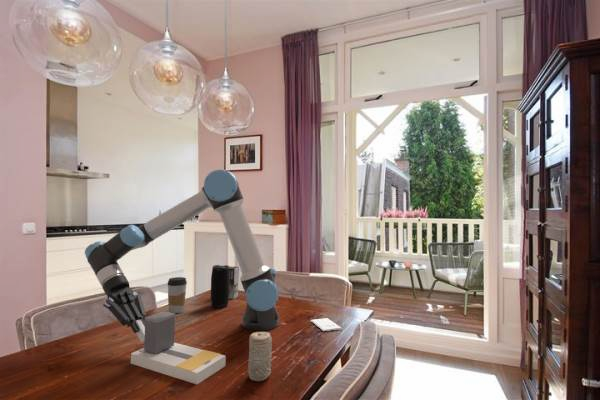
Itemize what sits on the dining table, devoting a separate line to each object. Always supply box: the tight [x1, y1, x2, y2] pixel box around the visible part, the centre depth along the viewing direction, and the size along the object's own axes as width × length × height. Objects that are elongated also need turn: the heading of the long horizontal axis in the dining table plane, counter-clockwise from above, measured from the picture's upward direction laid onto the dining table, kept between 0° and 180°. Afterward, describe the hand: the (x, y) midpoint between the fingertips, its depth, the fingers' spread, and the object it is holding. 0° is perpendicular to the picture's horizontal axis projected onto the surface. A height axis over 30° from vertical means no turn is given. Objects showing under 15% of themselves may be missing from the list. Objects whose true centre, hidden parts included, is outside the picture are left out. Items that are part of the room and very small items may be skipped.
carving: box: [247, 331, 273, 382], centre depth 92 cm, size 6×8×12 cm
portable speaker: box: [210, 264, 230, 309], centre depth 160 cm, size 9×9×20 cm
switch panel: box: [130, 342, 227, 385], centre depth 99 cm, size 26×12×3 cm, turn 65°
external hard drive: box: [310, 317, 343, 332], centre depth 135 cm, size 2×8×12 cm
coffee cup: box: [167, 276, 188, 314], centre depth 150 cm, size 8×8×15 cm
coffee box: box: [228, 265, 240, 300], centre depth 177 cm, size 9×6×16 cm
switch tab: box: [143, 310, 176, 354], centre depth 102 cm, size 5×7×10 cm
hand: (145, 339), depth 105 cm, fingers closed
